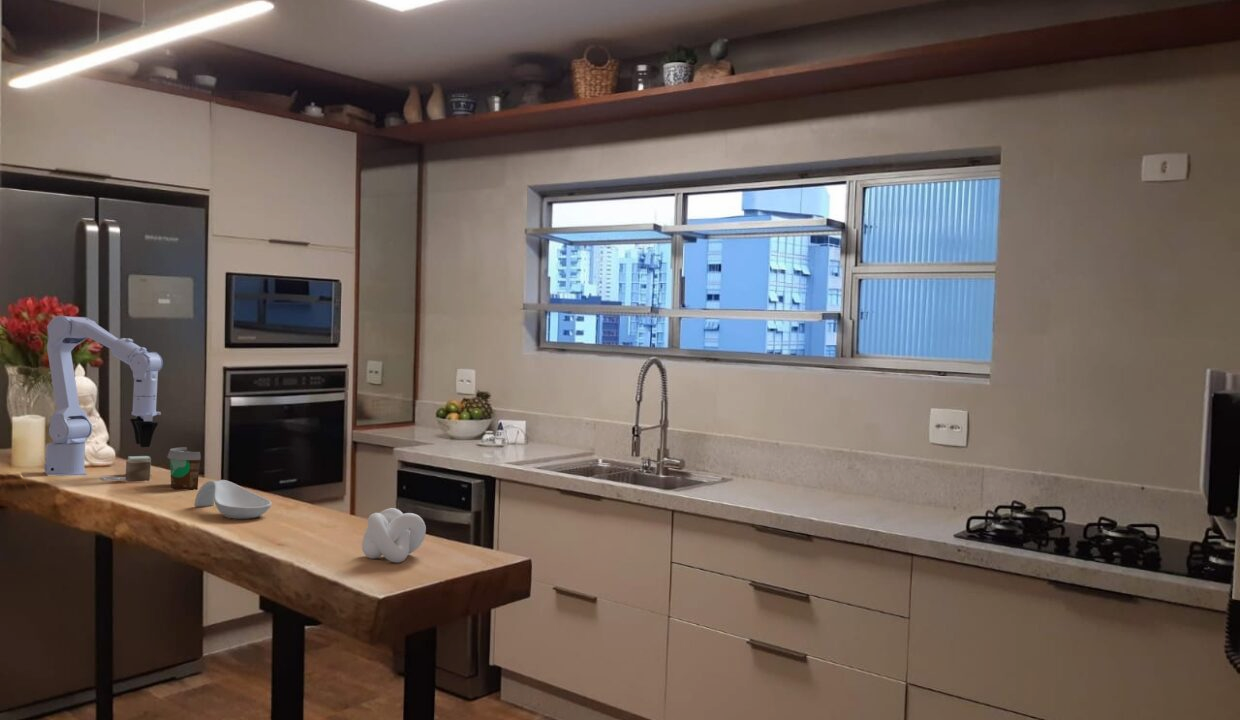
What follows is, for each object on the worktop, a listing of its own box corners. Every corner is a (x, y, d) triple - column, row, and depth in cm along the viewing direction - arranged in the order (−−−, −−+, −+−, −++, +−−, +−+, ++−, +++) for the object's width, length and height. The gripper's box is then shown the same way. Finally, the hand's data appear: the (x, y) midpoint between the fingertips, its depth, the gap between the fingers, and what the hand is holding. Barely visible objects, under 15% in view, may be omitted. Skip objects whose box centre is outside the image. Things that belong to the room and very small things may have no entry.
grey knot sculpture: (342, 558, 170) (344, 510, 170) (392, 548, 180) (394, 503, 180) (383, 568, 163) (385, 519, 163) (432, 557, 173) (434, 511, 173)
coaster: (124, 484, 239) (124, 482, 239) (120, 480, 245) (120, 478, 245) (154, 483, 243) (154, 481, 243) (149, 479, 249) (149, 477, 249)
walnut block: (128, 481, 241) (129, 462, 241) (125, 479, 245) (126, 460, 245) (149, 480, 244) (150, 462, 244) (146, 478, 248) (146, 459, 248)
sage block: (130, 476, 251) (130, 458, 251) (127, 474, 255) (128, 456, 255) (150, 475, 254) (150, 458, 254) (147, 473, 258) (147, 456, 258)
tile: (102, 481, 242) (102, 480, 242) (99, 478, 247) (99, 477, 247) (127, 480, 245) (127, 479, 245) (123, 477, 250) (123, 476, 250)
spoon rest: (281, 518, 205) (282, 487, 205) (232, 525, 196) (233, 492, 196) (225, 504, 219) (226, 475, 219) (177, 509, 210) (178, 479, 210)
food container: (160, 485, 241) (161, 447, 241) (184, 483, 245) (186, 446, 245) (174, 491, 232) (175, 453, 232) (199, 490, 236) (201, 452, 236)
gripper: (165, 398, 245) (163, 448, 245) (156, 394, 256) (154, 442, 256) (136, 397, 240) (134, 448, 241) (128, 394, 252) (126, 442, 252)
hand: (142, 445), depth 248 cm, fingers open, 7 cm apart
